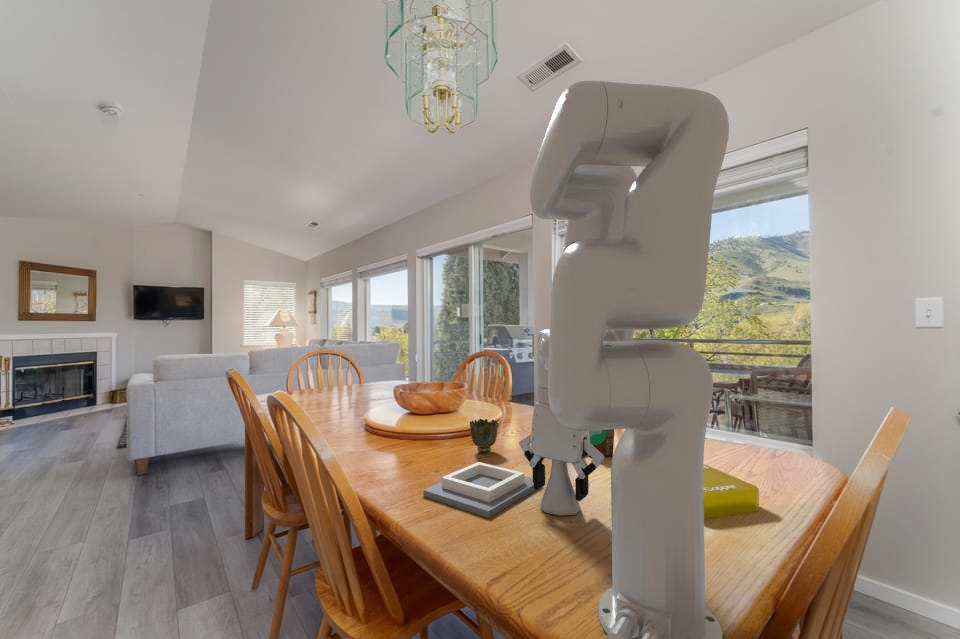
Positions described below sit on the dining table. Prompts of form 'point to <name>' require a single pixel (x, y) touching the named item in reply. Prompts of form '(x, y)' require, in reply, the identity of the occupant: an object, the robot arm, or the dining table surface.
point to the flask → (559, 492)
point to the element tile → (727, 495)
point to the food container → (603, 441)
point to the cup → (484, 434)
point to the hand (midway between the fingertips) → (559, 492)
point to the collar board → (481, 489)
